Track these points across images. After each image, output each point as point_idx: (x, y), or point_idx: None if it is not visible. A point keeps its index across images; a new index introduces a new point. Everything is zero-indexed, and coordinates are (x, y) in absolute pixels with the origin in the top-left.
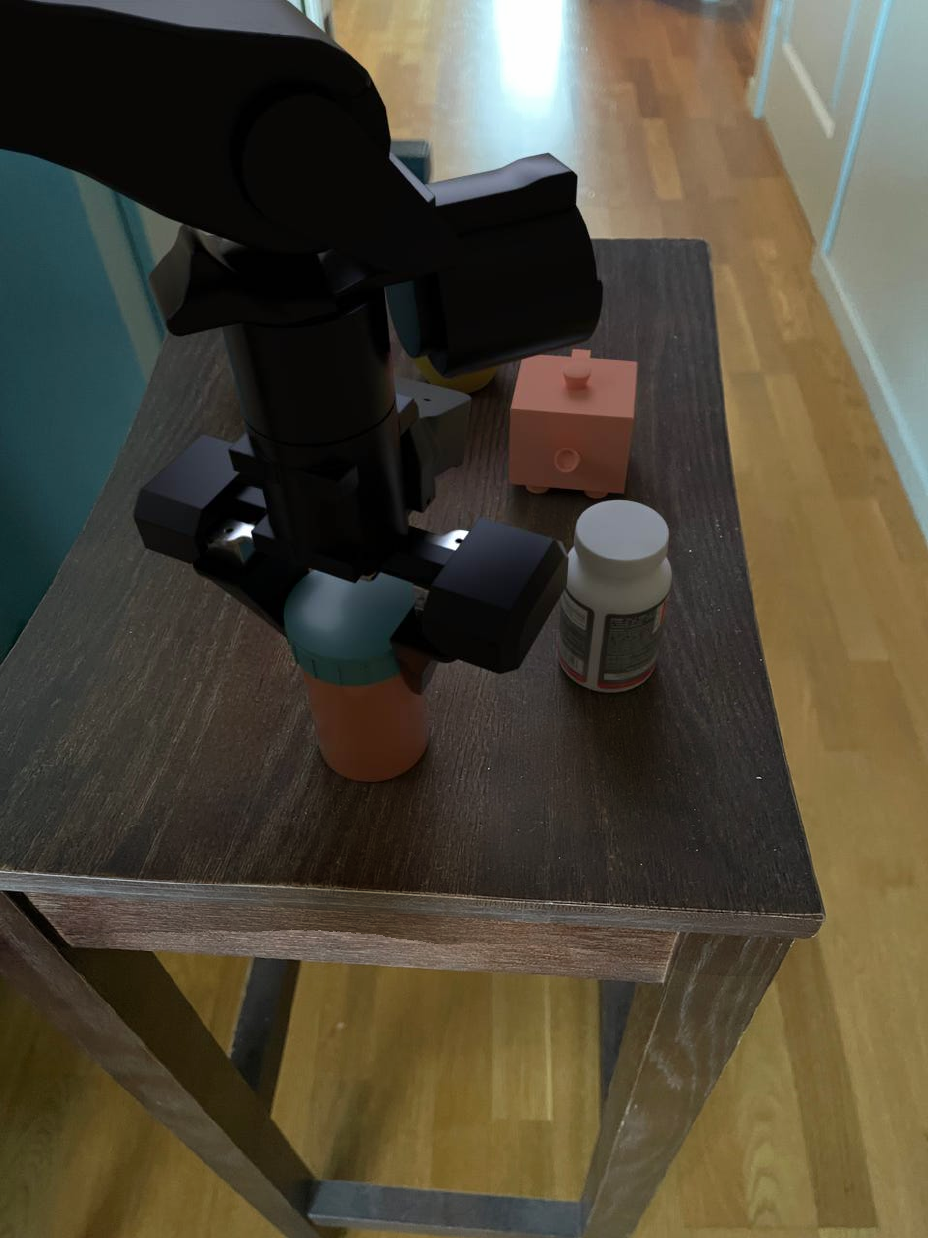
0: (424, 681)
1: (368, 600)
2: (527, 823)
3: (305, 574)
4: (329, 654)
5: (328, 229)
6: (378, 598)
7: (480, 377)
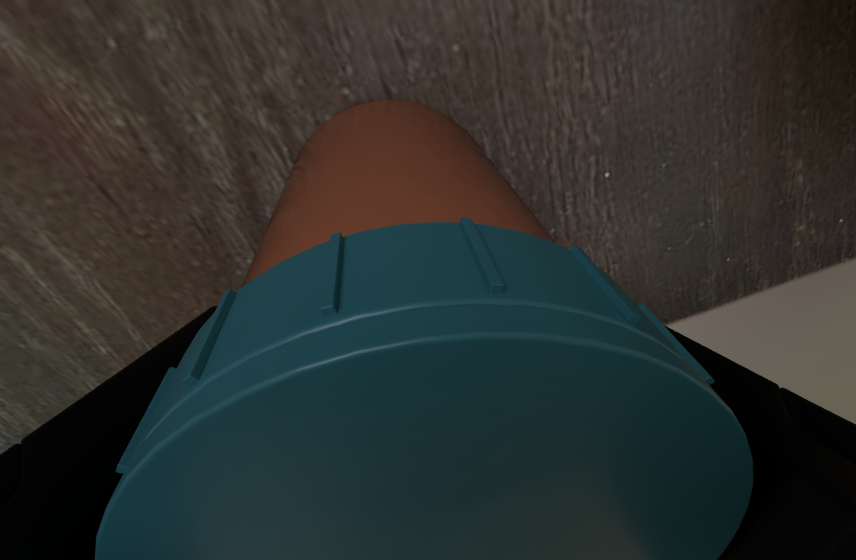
0: None
1: (489, 547)
2: (681, 234)
3: (70, 533)
4: None
5: None
6: (527, 523)
7: None
